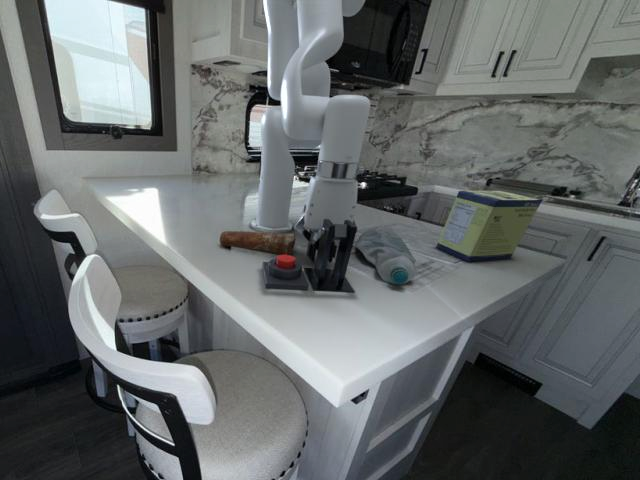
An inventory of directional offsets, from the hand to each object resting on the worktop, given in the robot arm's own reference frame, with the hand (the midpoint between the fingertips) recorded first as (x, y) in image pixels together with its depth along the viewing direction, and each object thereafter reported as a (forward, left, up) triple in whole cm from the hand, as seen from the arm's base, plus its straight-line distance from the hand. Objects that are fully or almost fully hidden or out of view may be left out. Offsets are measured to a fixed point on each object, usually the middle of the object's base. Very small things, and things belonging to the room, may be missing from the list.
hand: (319, 259), depth 68 cm
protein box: (-15, +46, -2) cm, 48 cm away
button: (+8, -9, +1) cm, 12 cm away
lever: (+4, 0, +5) cm, 6 cm away
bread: (-8, -14, -2) cm, 16 cm away
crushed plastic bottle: (-1, +15, -2) cm, 16 cm away
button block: (+8, -9, -2) cm, 12 cm away
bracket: (+8, 0, -2) cm, 8 cm away
